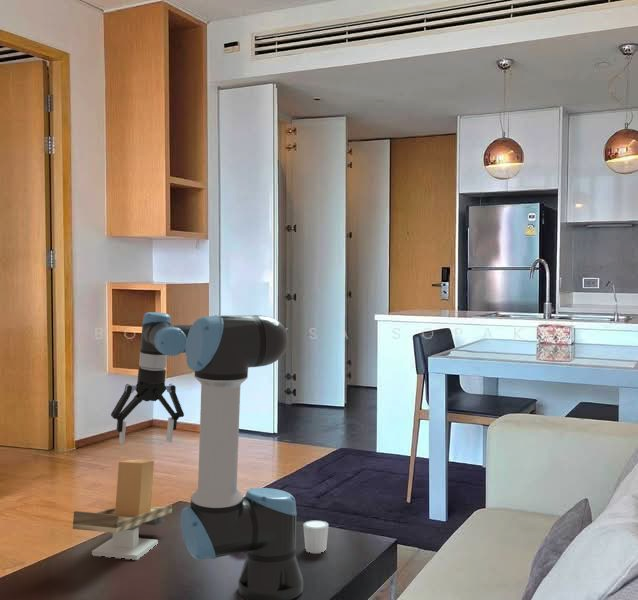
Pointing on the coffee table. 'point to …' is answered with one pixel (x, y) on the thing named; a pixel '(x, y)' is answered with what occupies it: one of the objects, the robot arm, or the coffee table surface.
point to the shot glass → (315, 536)
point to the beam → (117, 519)
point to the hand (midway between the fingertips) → (145, 442)
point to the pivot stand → (125, 545)
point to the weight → (134, 487)
